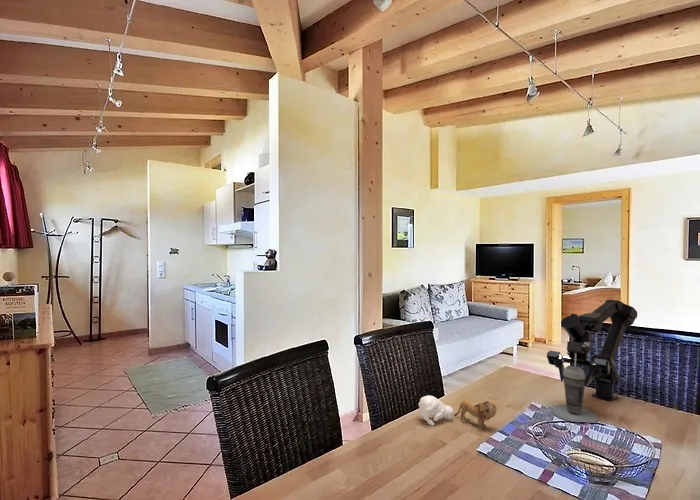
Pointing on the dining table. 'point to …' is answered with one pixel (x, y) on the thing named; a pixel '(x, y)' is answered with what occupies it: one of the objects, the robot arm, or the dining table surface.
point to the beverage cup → (574, 387)
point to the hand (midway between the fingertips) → (573, 383)
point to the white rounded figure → (434, 409)
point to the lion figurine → (478, 411)
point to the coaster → (573, 414)
